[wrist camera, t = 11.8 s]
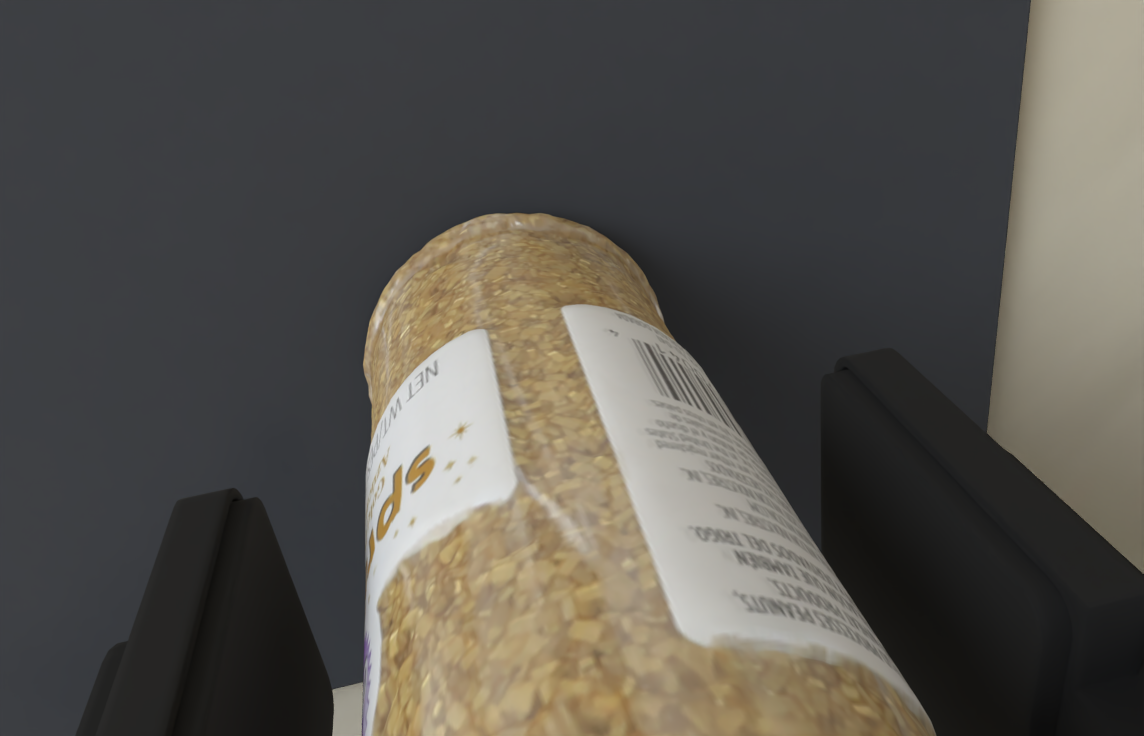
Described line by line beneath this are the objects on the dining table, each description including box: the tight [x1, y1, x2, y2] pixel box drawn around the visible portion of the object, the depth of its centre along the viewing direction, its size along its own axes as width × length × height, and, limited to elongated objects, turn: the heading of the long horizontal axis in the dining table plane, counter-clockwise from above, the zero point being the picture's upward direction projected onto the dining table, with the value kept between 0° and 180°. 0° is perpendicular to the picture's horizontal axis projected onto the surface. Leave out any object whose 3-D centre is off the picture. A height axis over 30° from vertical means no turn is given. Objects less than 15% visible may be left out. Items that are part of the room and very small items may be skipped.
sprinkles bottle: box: [362, 213, 936, 736], centre depth 8 cm, size 5×5×14 cm
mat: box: [0, 0, 1031, 736], centre depth 14 cm, size 12×18×1 cm, turn 98°
